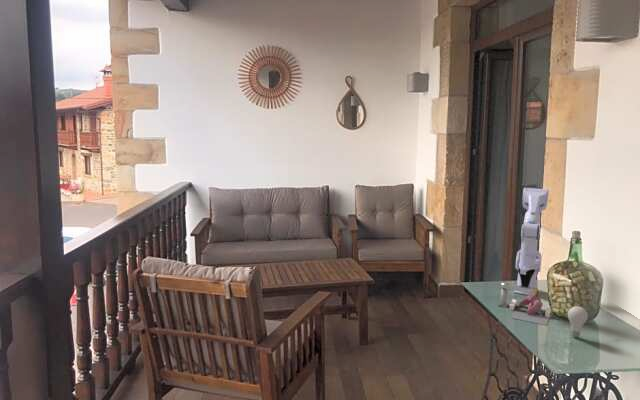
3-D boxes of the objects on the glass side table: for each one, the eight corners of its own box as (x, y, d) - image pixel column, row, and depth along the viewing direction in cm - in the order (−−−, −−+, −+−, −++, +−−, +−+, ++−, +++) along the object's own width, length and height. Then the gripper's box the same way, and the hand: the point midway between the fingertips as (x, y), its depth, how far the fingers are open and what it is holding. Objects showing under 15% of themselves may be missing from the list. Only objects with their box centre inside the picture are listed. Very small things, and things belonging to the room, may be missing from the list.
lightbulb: (583, 335, 180) (587, 305, 178) (586, 342, 174) (590, 311, 172) (564, 332, 182) (567, 302, 180) (566, 339, 176) (569, 308, 174)
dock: (500, 301, 209) (502, 286, 208) (551, 311, 200) (552, 295, 199) (497, 307, 203) (498, 291, 202) (549, 317, 194) (551, 300, 193)
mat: (515, 311, 200) (515, 310, 200) (548, 317, 194) (549, 317, 194) (511, 318, 193) (511, 317, 193) (546, 325, 187) (546, 325, 187)
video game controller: (536, 319, 196) (547, 303, 195) (526, 313, 195) (536, 298, 194) (527, 309, 205) (536, 294, 204) (517, 304, 205) (526, 289, 204)
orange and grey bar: (500, 288, 203) (500, 283, 203) (501, 286, 206) (502, 281, 205) (535, 295, 197) (536, 290, 197) (536, 293, 200) (537, 288, 199)
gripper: (535, 260, 193) (532, 295, 196) (542, 251, 205) (539, 284, 208) (515, 256, 197) (512, 291, 199) (524, 248, 209) (520, 280, 211)
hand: (525, 287), depth 204 cm, fingers closed
